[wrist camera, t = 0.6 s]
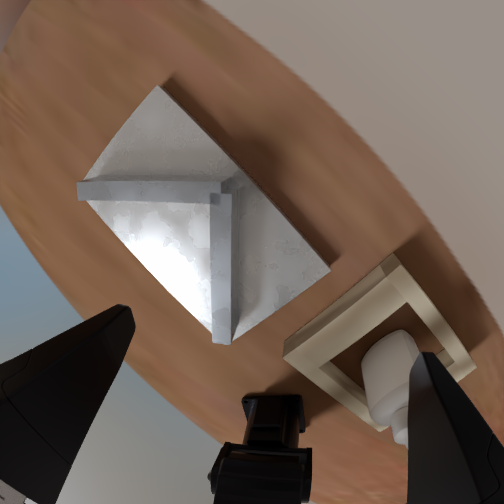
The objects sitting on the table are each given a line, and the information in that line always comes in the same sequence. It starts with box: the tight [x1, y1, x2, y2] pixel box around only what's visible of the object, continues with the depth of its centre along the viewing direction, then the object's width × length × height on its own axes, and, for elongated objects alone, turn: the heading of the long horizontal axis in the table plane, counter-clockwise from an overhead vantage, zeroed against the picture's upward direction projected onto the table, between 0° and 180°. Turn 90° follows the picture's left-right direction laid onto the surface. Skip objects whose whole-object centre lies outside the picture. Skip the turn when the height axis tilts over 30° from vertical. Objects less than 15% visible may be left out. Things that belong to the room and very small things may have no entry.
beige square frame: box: [282, 253, 476, 432], centre depth 26 cm, size 16×13×2 cm
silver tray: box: [77, 85, 331, 346], centre depth 24 cm, size 12×20×4 cm, turn 44°
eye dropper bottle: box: [361, 329, 420, 449], centre depth 22 cm, size 4×6×12 cm
